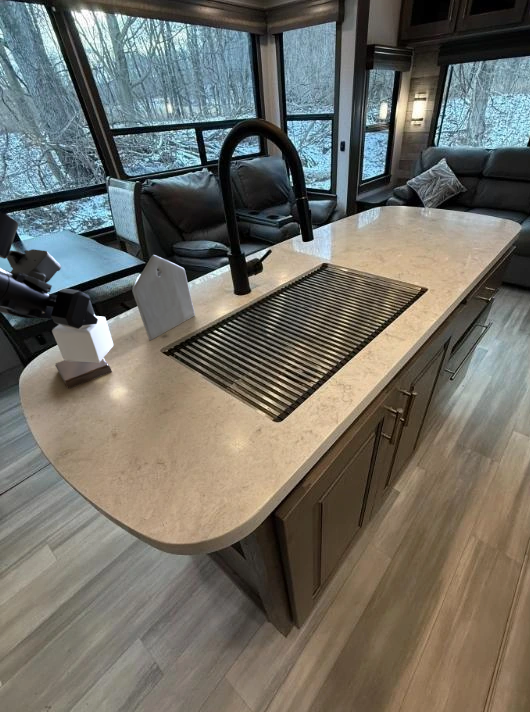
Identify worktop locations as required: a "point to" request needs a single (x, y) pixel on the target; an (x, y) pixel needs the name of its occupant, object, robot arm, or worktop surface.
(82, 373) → the brown square tile
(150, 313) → the grey house-shaped board
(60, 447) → the worktop surface
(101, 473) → the worktop surface
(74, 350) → the medicine bottle
